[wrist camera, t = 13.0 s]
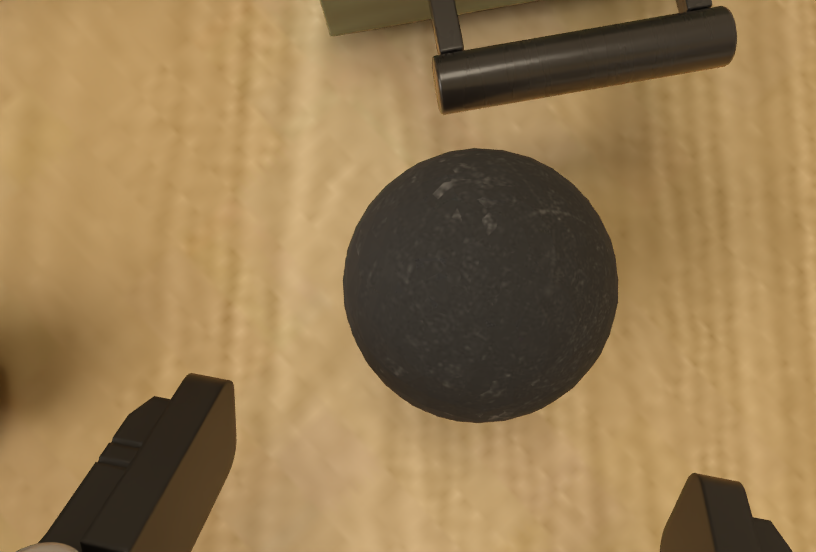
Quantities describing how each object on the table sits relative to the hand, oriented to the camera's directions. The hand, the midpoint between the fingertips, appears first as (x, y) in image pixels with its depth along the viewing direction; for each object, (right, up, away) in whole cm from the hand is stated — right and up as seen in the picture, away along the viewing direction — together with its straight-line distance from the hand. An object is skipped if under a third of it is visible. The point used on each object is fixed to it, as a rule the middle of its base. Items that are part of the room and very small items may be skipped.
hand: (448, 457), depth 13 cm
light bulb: (+1, +2, +10) cm, 10 cm away
